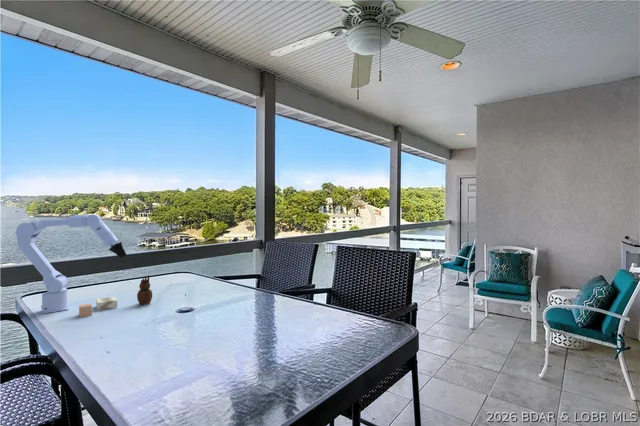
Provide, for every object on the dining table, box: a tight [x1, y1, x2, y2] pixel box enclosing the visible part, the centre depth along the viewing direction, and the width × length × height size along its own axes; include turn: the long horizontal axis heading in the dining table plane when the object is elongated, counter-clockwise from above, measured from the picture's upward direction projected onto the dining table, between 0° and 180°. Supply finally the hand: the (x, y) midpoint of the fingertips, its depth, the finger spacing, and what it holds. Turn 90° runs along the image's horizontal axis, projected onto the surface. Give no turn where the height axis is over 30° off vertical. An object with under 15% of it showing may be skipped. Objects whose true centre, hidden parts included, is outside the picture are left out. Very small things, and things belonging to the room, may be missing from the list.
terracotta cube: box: [78, 303, 93, 318], centre depth 149 cm, size 4×4×4 cm
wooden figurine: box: [136, 274, 153, 306], centre depth 167 cm, size 7×6×15 cm
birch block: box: [95, 296, 118, 312], centre depth 161 cm, size 8×8×4 cm
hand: (123, 256), depth 166 cm, fingers open, 7 cm apart
